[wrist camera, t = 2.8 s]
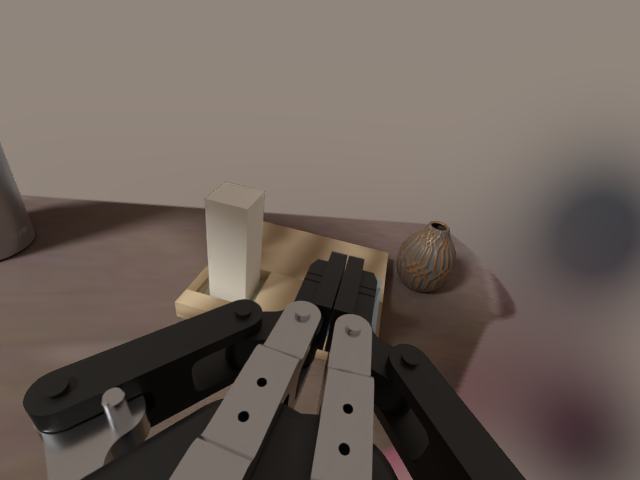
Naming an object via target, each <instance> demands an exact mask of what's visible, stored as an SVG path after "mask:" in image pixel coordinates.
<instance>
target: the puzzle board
mask: <svg viewBox="0 0 640 480" xmlns="http://www.w3.org/2000/svg"><path fill="white" fill-rule="evenodd" d="M332 251H334V252H338V253H342V254H346V255H348V257H349V255H351V256H355V257H359V258H363V259H365V261H364V266H363V270H364V271H368V272H372V273H374V274H375V277H376V278H379V279H382V281H381V292H380V300H379V308H378V316H377V323H376V331H375V334H376V336H377V337H378V338H379V329H380V320H381V312H382V303H383V294H384V286H385V277H386V268H387V260H388V253H387V252H383V251H379V250H375V249H371V248H367V247H363V246H359V245H355V244H352V243H348V242H344V241H340V240H336V239H332V238H328V237H324V236H320V235H316V234H312V233H308V232H304V231H300V230H296V229H292V228H289V227H285V226H281V225H277V224H273V223H269V222H265V221H263V232H262V249H261V266H260V284H259V286H258V288H257V290H256V291H255V293H254V295H253V296H252V298H251V299H250V300H252V301H254V302H256V303H258V304H259V305H260V306H261V308H262V311H281V310H284V309H285V308H286V307H287V306H288V305H289V304H290V303H292V302H294V300H295V298H296V296H297V294H298V291H299V289H300V287H301V285H302V282H303V280H304V278H305V276H306V274H307V271H308V269H309V267H310V265H311V264H312V263H313V261H314V262H315V261H316V260H317V259H321V260H325V261H328V260H329V258H330V255H331V253H332ZM348 257H347V261H348ZM346 264H347V262H346ZM345 268H346V266H345ZM228 303H231V302H230V301H227V300H223V299H220V298H216V297H213V296H210V289H209V270H208V265H207V266H206V268H205V269H204V270H203V271H202V272H201V273H200V274H199V275H198V277H197V278H196V279H195V280H194V281H193V282H192V283H191V285H190V286H189V287H188V288H187V289H186V290H185V291H184V292H183V294H182V295H181V296H180V297H179V298H178V299H177V300H176V301H175V305H176V313H177V316H178V317H181V318H185V319H189V318H192V317H194V316H197V315H200V314H202V313H205V312H207V311H210V310H212V309H215V308H218V307H220V306H223V305H225V304H228ZM326 341H327V337H326V340H325V344H324V347H323V351H322V350H319V349H317V352H316V355H315V358H318V359H322V360H325V361H326V360H327V356H328V352H326V351H324V350H325V345H326Z"/></svg>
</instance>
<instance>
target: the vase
mask: <svg viewBox="0 0 640 480" xmlns="http://www.w3.org/2000/svg"><path fill="white" fill-rule="evenodd" d="M455 263H456V251H455V247H454V245H453V242H452V239H451V237H450V229H449V227H448V226H447V225H446V224H444V223H442V222H438V221H432V222H430V223H429V224H428V225H427V226H425V227H424V228H422V229H420V230H418V231H416V232H414V233H413V234H411V235H410V236H409V237H408V238H407V239H406V240H405V241H404V243H403V244H402V246H401V248H400V250H399V253H398V257H397V271H398V274H399V277H400V279H401V280H402V281H403V283H404V284H405V285H406V286H407V287H409V288H410V289H412V290H414V291H418V292H430V291H434V290H437V289H439V288H440V287H442V286H443V285H444V284H445V283H446V282H447V281H448V279H449V278H450V276H451V274H452V272H453V270H454V267H455Z"/></svg>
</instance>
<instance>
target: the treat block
mask: <svg viewBox="0 0 640 480" xmlns="http://www.w3.org/2000/svg"><path fill="white" fill-rule="evenodd" d="M264 197H265V191H263V190H259V189H255V188H250V187H246V186H242V185H238V184H234V183H230V182H225V183H224V184H222V185H221V186H220V187H219V188H217V189H216V190H215V191H213V192H212V193H211V194H210V195H208V196H207V197H206V198H205V214H206V233H207V251H208V270H209V289H210V296H213V297H216V298H220V299H223V300H227V301H230V302H233V301H236V300H241V299H248V300H250V299H251V298H252V296H253V295H254V293H255V291H256V290H257V288H258V286H259V284H260V266H261V249H262V232H263V214H264Z"/></svg>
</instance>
